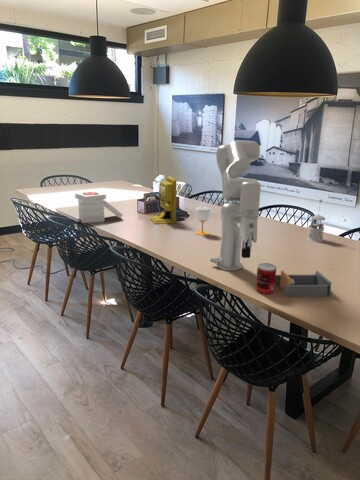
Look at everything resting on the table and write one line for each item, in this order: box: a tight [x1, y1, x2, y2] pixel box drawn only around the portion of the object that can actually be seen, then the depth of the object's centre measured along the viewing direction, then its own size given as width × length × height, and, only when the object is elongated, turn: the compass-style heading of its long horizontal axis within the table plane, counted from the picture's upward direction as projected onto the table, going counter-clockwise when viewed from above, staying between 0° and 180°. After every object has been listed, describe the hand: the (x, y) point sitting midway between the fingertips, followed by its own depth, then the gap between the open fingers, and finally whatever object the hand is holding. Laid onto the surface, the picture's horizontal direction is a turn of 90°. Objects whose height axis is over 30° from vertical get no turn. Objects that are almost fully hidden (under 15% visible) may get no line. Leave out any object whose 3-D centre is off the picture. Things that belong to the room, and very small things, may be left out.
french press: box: [306, 199, 326, 243], centre depth 235 cm, size 10×12×25 cm
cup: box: [194, 206, 211, 236], centre depth 244 cm, size 9×9×16 cm
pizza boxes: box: [74, 190, 124, 224], centre depth 271 cm, size 19×30×18 cm, turn 112°
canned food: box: [255, 262, 277, 295], centre depth 164 cm, size 8×8×11 cm
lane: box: [274, 270, 332, 298], centre depth 166 cm, size 20×12×6 cm, turn 95°
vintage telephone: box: [149, 175, 177, 225], centre depth 270 cm, size 31×14×30 cm, turn 17°
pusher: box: [279, 270, 295, 290], centre depth 165 cm, size 4×9×7 cm, turn 5°
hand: (245, 257), depth 159 cm, fingers closed
